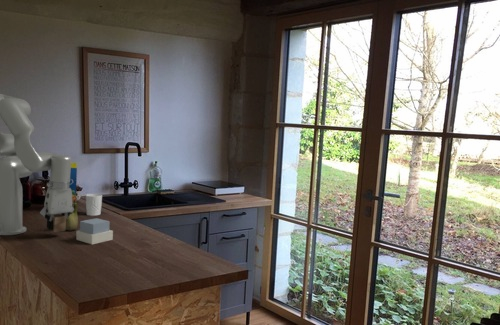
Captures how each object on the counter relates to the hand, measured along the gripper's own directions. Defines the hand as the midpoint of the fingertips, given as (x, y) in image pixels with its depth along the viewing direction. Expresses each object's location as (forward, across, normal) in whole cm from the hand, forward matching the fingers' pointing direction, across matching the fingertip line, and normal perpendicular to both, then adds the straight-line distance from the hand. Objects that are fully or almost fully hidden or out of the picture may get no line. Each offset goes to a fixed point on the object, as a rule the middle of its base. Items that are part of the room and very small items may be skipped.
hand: (56, 228), depth 178 cm
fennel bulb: (+4, +10, +4) cm, 11 cm away
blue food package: (+5, +31, +41) cm, 52 cm away
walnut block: (+1, 0, 0) cm, 1 cm away
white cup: (+4, +36, +23) cm, 43 cm away
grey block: (-1, +8, -15) cm, 17 cm away
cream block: (+3, +8, -15) cm, 17 cm away
